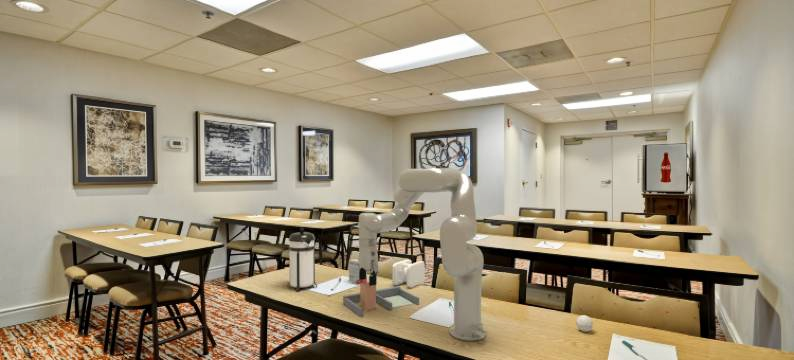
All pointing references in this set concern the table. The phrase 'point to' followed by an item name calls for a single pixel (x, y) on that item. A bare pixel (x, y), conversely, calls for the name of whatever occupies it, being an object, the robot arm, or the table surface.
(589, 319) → the white rounded lump
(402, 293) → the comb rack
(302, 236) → the coffee press
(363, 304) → the terracotta block
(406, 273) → the cable organizer
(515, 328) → the table surface
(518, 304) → the table surface
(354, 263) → the ink box
